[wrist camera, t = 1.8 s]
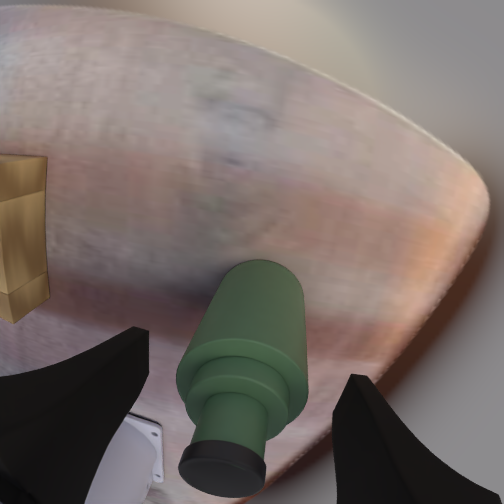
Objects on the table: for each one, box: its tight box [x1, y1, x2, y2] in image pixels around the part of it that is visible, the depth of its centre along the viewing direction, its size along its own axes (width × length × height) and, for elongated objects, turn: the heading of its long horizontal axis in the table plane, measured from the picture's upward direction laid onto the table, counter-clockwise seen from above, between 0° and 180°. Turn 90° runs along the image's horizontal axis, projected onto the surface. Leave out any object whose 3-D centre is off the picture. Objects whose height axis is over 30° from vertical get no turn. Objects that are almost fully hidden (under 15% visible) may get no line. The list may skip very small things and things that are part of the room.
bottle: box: [176, 260, 308, 498], centre depth 11 cm, size 4×4×10 cm
